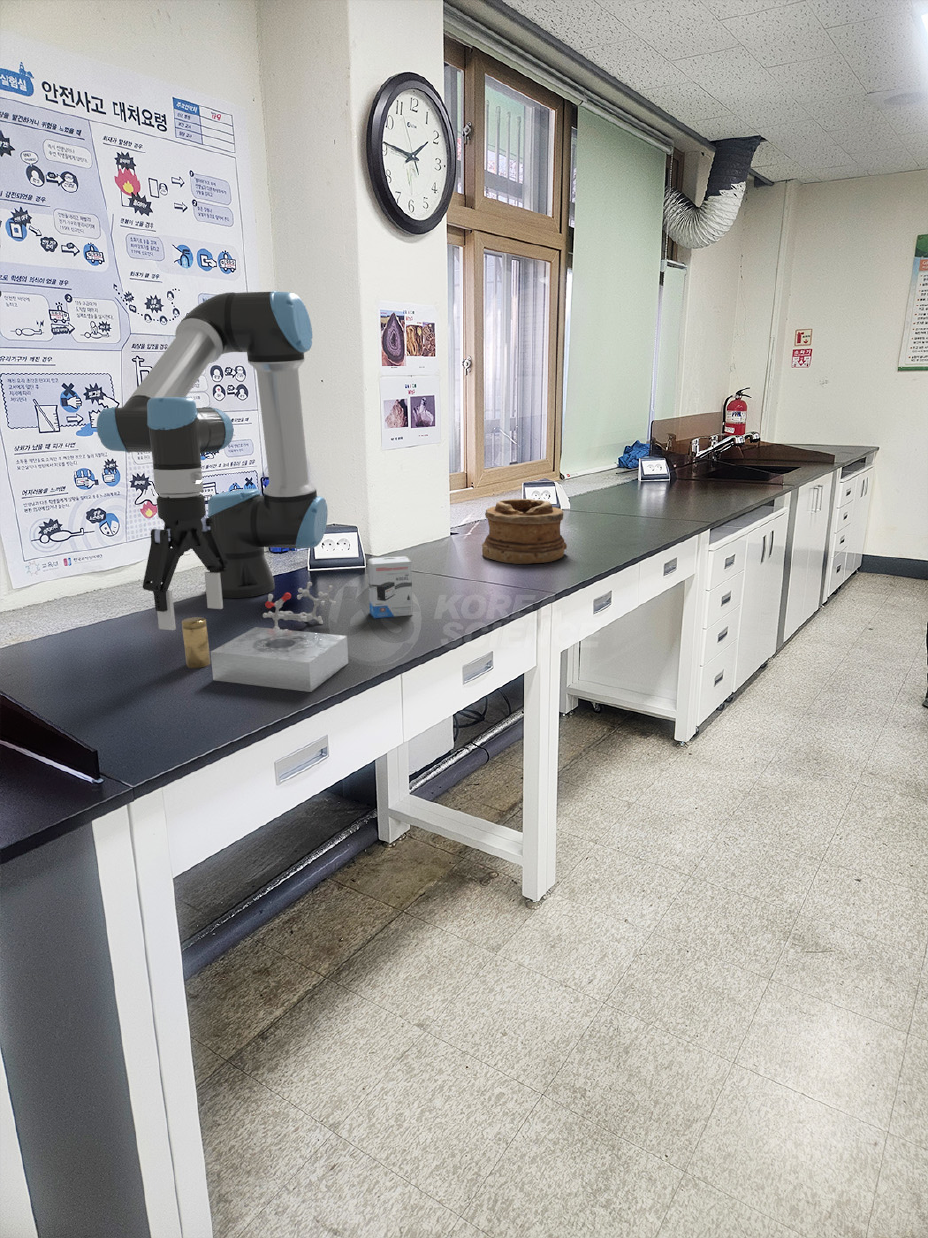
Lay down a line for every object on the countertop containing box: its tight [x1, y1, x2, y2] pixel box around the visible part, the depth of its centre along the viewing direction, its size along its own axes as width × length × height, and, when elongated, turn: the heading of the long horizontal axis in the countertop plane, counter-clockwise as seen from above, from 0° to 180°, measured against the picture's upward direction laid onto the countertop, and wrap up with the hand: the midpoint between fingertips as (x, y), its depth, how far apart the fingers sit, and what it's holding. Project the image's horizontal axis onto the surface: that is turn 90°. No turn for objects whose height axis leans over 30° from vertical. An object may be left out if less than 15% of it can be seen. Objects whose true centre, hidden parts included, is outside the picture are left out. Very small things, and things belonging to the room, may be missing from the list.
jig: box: [210, 626, 349, 693], centre depth 136 cm, size 18×14×5 cm
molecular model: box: [262, 581, 337, 630], centre depth 158 cm, size 19×10×10 cm, turn 148°
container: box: [481, 498, 568, 565], centre depth 221 cm, size 22×24×15 cm
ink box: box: [367, 555, 414, 619], centre depth 168 cm, size 8×5×12 cm, turn 105°
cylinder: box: [181, 616, 211, 669], centre depth 140 cm, size 4×4×8 cm
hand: (192, 618), depth 138 cm, fingers open, 13 cm apart
